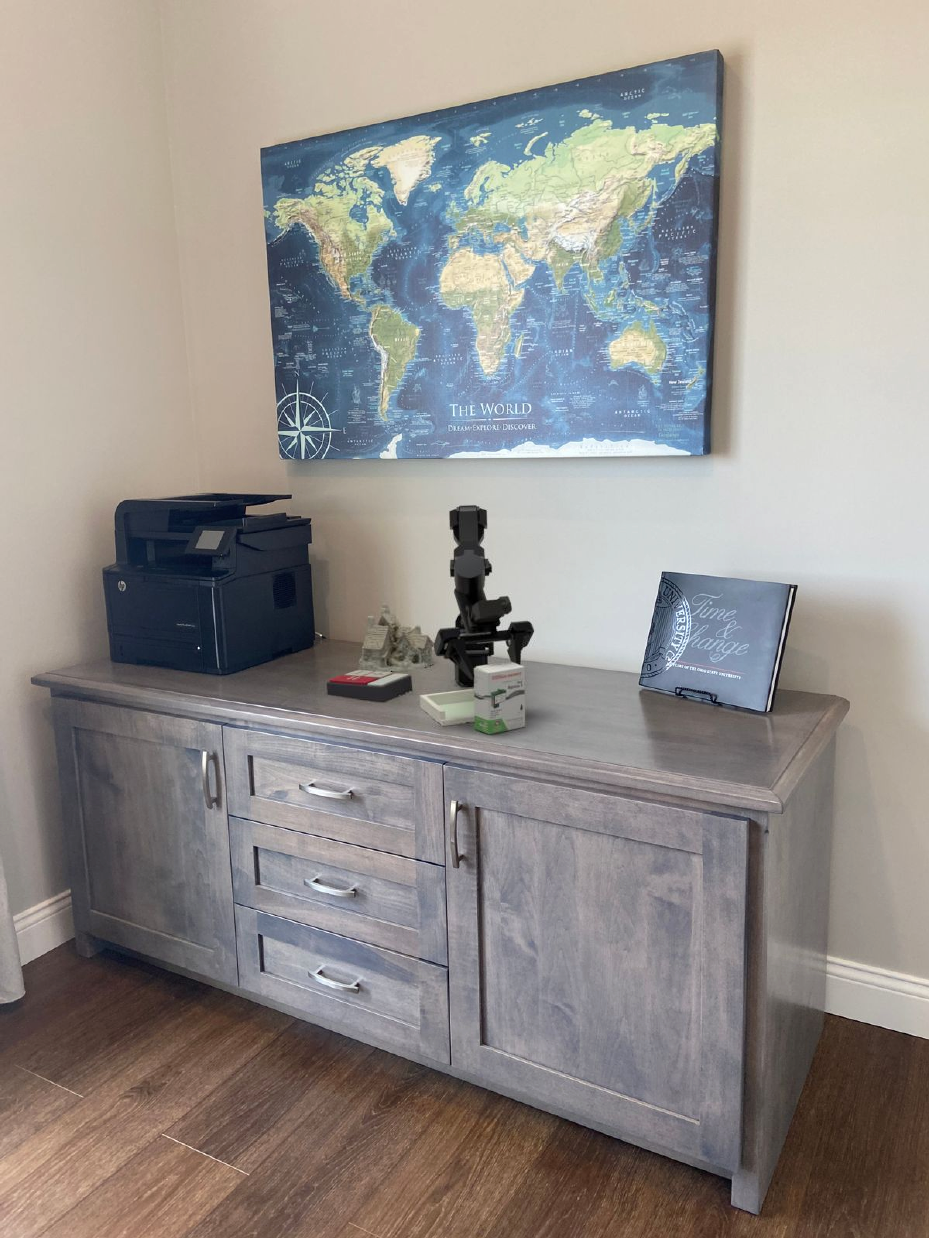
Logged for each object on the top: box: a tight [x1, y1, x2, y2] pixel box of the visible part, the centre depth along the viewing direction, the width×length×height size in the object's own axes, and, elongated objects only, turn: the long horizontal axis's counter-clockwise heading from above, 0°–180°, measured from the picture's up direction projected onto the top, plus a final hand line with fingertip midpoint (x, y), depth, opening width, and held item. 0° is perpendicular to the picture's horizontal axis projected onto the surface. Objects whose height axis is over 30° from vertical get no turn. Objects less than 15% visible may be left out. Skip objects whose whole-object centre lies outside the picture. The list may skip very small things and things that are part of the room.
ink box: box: [473, 660, 526, 735], centre depth 172 cm, size 9×5×12 cm, turn 123°
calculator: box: [326, 669, 413, 703], centre depth 201 cm, size 11×4×15 cm
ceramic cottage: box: [357, 603, 434, 672], centre depth 223 cm, size 16×16×15 cm
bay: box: [419, 688, 475, 727], centre depth 184 cm, size 13×14×2 cm
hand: (496, 675), depth 172 cm, fingers closed on ink box, 9 cm apart
